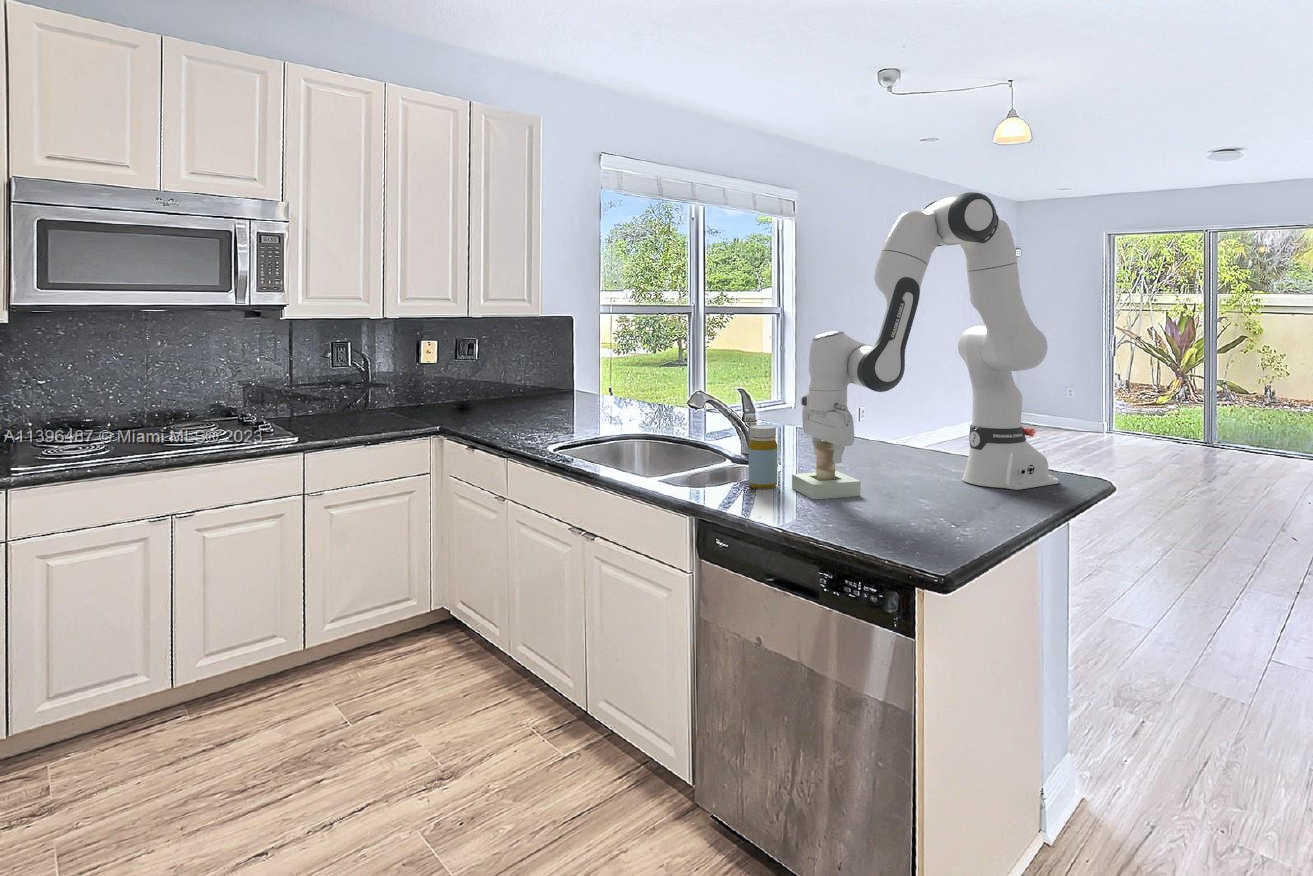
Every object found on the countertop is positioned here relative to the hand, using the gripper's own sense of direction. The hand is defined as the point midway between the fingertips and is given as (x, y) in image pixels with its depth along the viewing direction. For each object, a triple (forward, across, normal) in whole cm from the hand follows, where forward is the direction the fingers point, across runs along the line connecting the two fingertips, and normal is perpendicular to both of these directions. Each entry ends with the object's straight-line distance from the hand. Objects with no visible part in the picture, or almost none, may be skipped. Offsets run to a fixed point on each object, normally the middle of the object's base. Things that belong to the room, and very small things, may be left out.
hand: (827, 458), depth 185 cm
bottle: (+8, +10, +12) cm, 18 cm away
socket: (+8, 0, 0) cm, 8 cm away
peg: (+8, 0, 0) cm, 8 cm away
